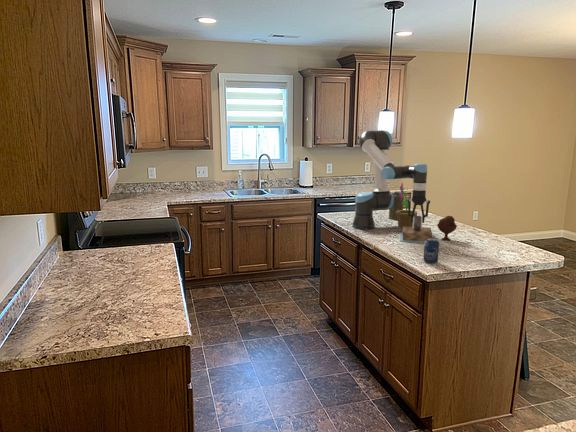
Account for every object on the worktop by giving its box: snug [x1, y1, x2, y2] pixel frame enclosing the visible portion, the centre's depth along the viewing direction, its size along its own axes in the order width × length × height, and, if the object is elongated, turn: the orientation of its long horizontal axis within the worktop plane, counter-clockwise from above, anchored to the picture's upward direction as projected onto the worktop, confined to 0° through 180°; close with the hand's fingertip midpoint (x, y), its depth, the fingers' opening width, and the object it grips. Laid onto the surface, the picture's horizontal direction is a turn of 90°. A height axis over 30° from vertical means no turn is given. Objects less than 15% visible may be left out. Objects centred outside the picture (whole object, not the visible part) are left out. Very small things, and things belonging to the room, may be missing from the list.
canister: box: [388, 191, 405, 221], centre depth 319 cm, size 11×10×20 cm
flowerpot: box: [396, 182, 418, 229], centre depth 292 cm, size 14×14×30 cm
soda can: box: [423, 237, 440, 265], centre depth 216 cm, size 7×7×12 cm
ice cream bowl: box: [436, 215, 458, 242], centre depth 259 cm, size 11×11×15 cm
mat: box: [399, 232, 435, 244], centre depth 264 cm, size 20×20×1 cm
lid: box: [402, 215, 433, 241], centre depth 263 cm, size 17×17×13 cm
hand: (417, 227), depth 263 cm, fingers closed on lid, 4 cm apart
